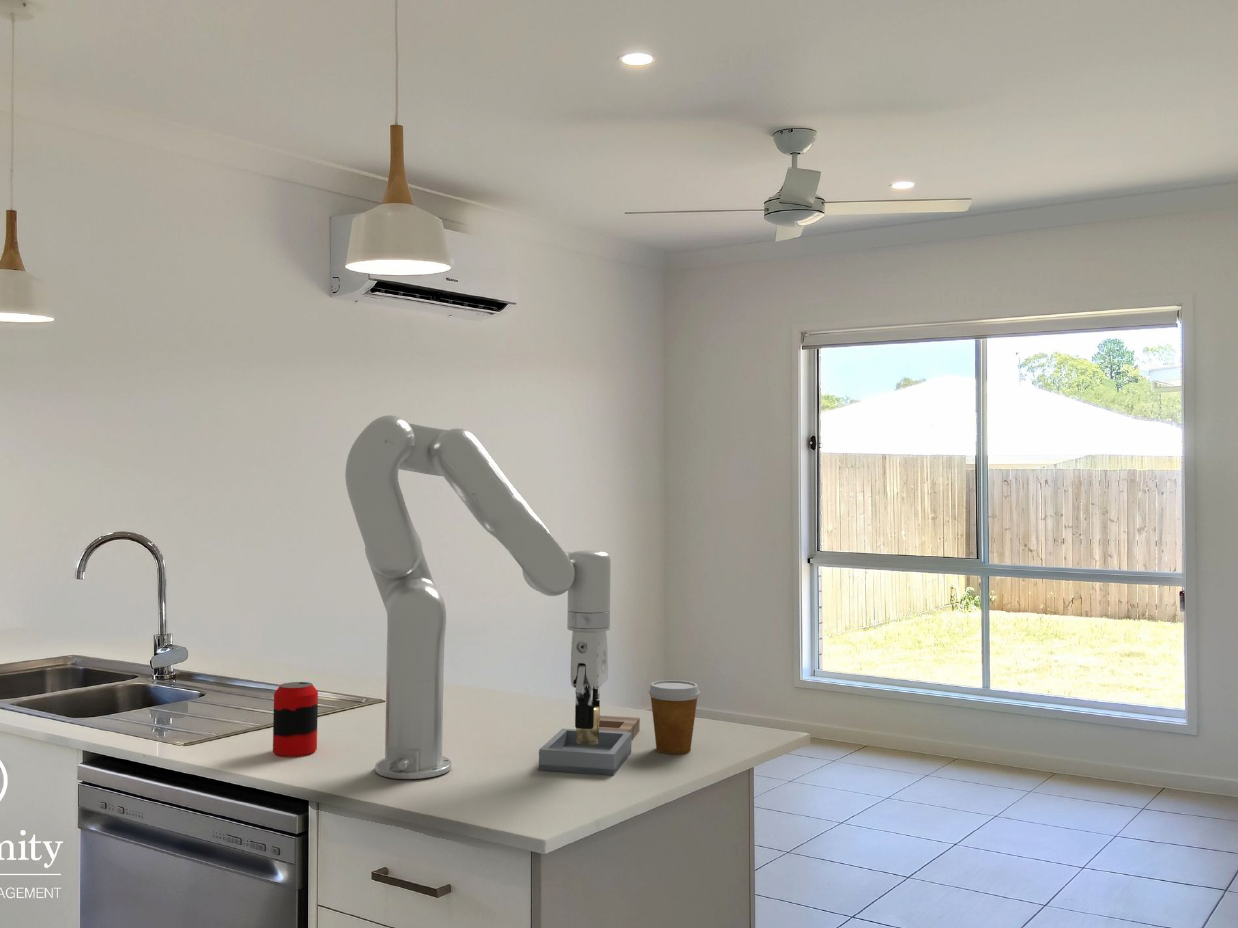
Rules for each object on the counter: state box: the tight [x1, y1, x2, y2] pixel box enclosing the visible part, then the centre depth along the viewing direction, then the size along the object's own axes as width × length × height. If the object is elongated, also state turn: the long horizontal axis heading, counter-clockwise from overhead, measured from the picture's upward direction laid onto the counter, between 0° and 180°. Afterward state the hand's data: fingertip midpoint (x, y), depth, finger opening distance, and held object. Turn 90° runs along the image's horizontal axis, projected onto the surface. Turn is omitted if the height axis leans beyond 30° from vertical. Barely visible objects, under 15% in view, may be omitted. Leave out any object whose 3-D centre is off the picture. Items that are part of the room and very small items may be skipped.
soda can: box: [272, 681, 319, 758], centre depth 187 cm, size 8×8×12 cm
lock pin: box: [575, 706, 599, 745], centre depth 184 cm, size 4×4×6 cm
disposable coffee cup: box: [647, 679, 701, 755], centre depth 192 cm, size 10×10×12 cm
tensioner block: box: [599, 715, 641, 741], centre depth 201 cm, size 14×10×2 cm
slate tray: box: [538, 728, 633, 776], centre depth 183 cm, size 16×13×4 cm
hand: (587, 724), depth 184 cm, fingers closed on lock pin, 4 cm apart
